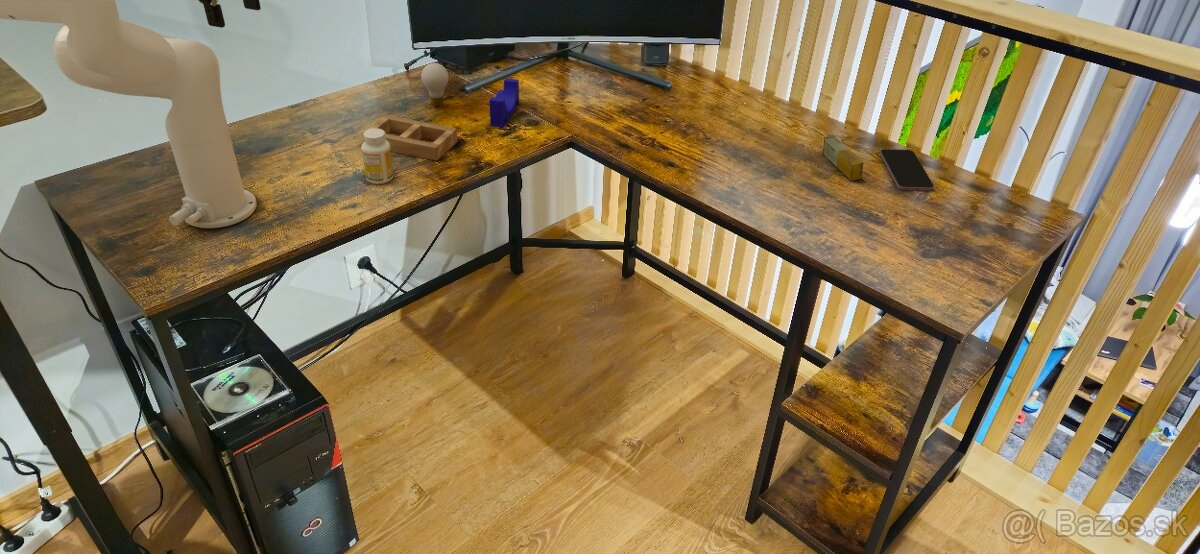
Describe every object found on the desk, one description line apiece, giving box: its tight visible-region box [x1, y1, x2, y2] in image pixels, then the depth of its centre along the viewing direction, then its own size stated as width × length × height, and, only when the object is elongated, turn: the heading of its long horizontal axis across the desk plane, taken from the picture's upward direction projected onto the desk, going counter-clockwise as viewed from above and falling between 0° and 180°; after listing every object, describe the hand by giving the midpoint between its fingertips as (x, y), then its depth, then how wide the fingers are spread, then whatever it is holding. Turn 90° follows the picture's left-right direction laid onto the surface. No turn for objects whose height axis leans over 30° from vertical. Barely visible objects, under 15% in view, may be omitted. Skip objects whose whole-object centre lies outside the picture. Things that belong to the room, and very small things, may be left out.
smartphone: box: [879, 148, 935, 192], centre depth 172 cm, size 7×1×15 cm
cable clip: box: [488, 77, 520, 128], centre depth 186 cm, size 12×4×6 cm, turn 168°
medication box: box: [822, 135, 865, 182], centre depth 172 cm, size 12×3×4 cm, turn 16°
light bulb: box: [420, 62, 449, 108], centre depth 187 cm, size 6×6×10 cm
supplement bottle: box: [360, 128, 395, 185], centre depth 161 cm, size 5×5×10 cm
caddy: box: [362, 114, 459, 162], centre depth 174 cm, size 9×17×3 cm, turn 71°
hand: (235, 17), depth 152 cm, fingers open, 9 cm apart
